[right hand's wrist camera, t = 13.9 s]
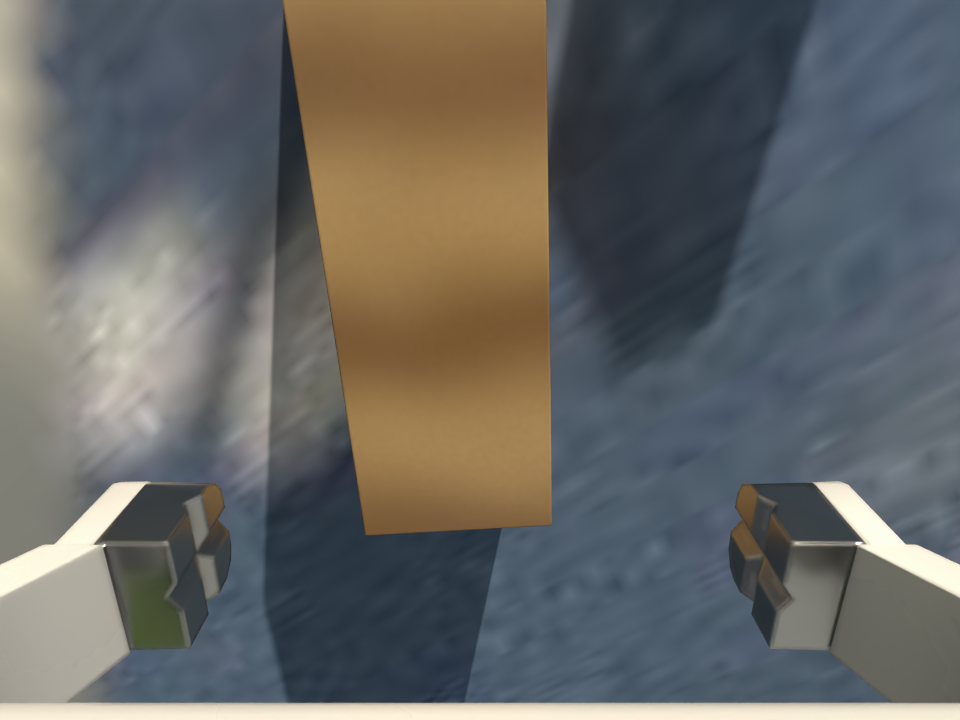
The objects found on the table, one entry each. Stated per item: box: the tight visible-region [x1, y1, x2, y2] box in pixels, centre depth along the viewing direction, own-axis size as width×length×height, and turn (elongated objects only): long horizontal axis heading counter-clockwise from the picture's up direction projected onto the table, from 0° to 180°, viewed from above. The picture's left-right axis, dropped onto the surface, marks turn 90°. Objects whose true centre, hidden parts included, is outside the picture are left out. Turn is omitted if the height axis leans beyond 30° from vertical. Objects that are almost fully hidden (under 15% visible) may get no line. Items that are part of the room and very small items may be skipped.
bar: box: [282, 0, 552, 536], centre depth 18 cm, size 24×6×8 cm, turn 3°
